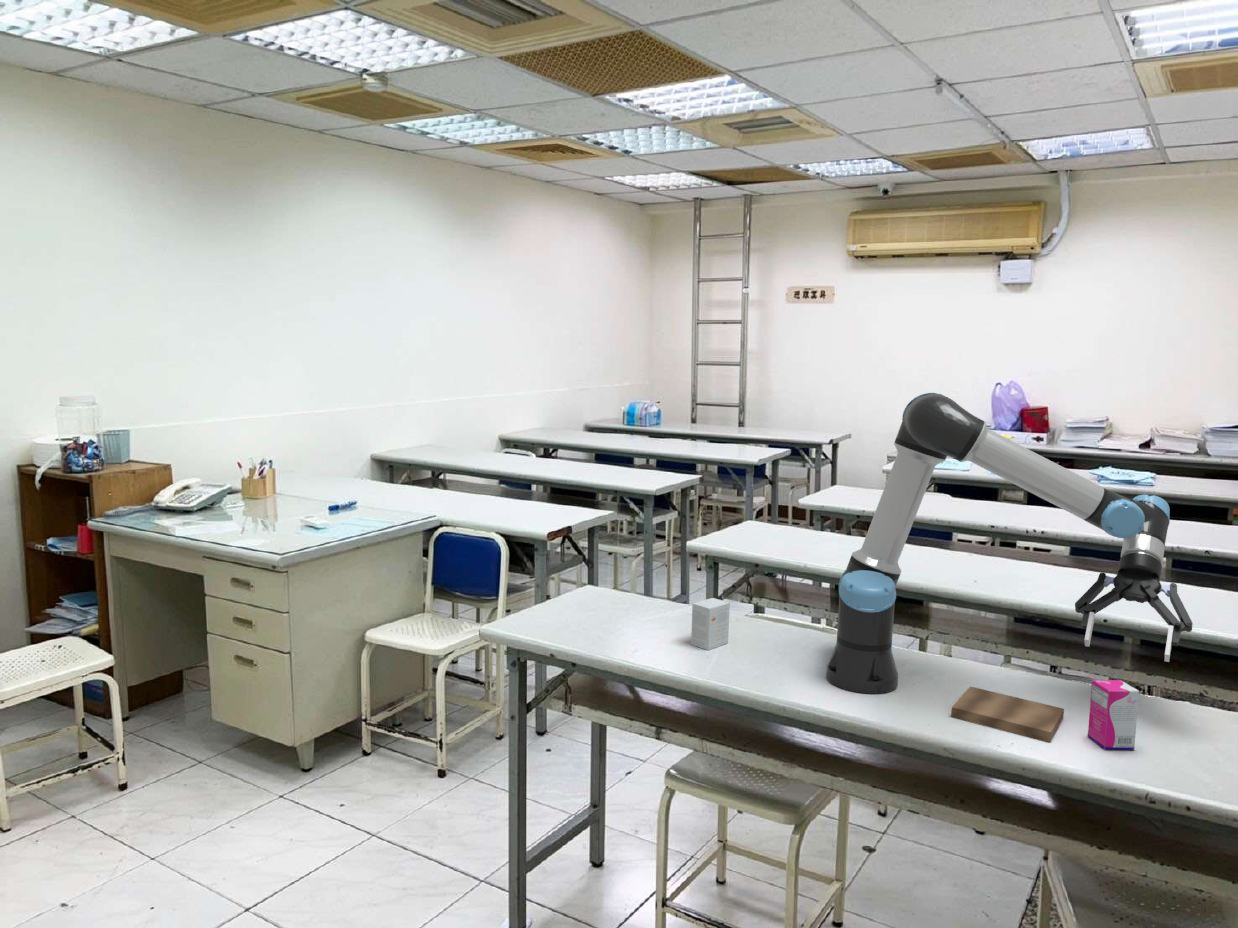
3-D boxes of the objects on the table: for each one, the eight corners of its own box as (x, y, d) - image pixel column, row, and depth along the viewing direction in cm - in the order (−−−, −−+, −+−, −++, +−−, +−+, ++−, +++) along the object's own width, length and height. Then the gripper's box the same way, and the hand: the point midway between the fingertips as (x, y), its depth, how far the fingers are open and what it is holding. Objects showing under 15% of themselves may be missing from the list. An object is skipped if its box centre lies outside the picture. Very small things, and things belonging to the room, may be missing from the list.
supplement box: (1115, 736, 164) (1121, 679, 163) (1134, 750, 158) (1141, 691, 157) (1085, 736, 164) (1091, 678, 162) (1104, 750, 158) (1110, 690, 157)
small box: (711, 637, 215) (712, 597, 214) (728, 643, 211) (730, 602, 210) (690, 644, 210) (691, 603, 208) (707, 650, 206) (709, 608, 204)
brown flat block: (950, 716, 171) (951, 707, 171) (969, 695, 182) (970, 686, 182) (1050, 742, 161) (1051, 732, 160) (1063, 718, 172) (1064, 708, 172)
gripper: (1212, 581, 173) (1201, 674, 163) (1074, 562, 188) (1056, 646, 178) (1214, 560, 168) (1203, 655, 158) (1073, 542, 183) (1054, 627, 173)
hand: (1125, 650), depth 168 cm, fingers open, 13 cm apart
